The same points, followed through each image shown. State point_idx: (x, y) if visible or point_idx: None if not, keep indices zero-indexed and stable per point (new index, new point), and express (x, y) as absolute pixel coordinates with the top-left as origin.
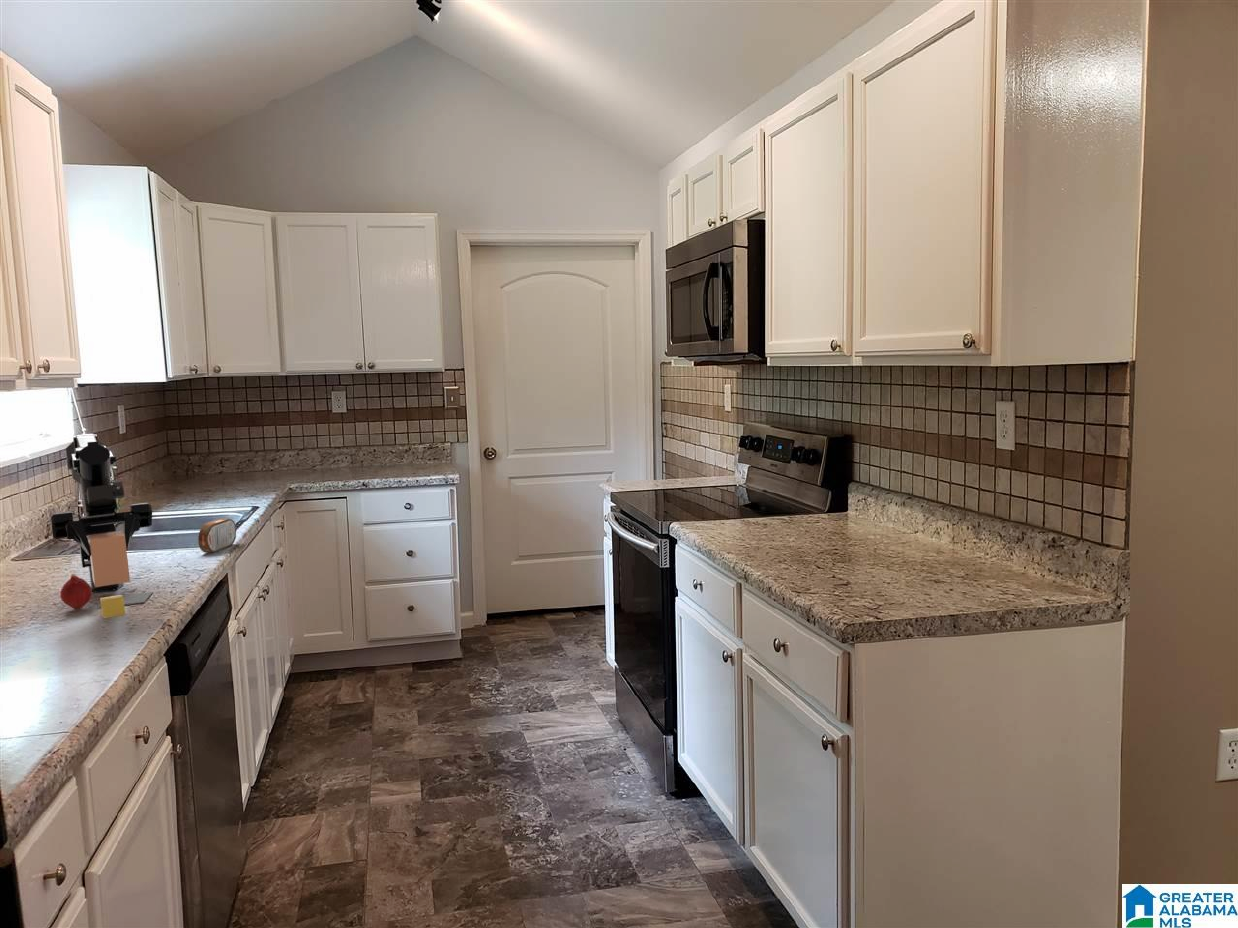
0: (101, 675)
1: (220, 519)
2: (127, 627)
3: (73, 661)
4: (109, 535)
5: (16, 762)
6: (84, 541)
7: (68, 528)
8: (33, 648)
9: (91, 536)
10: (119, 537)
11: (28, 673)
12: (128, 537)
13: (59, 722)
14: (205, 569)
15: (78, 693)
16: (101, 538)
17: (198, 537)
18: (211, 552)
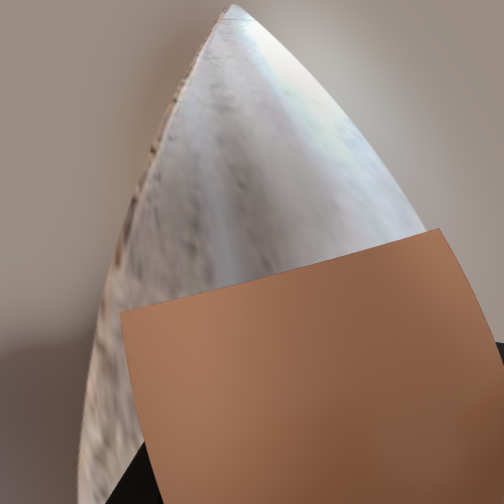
0: (214, 65)
1: None
2: (205, 236)
3: (262, 102)
4: (322, 416)
5: (240, 9)
6: (501, 348)
7: None
8: (361, 177)
9: (497, 413)
10: (180, 303)
11: (306, 89)
12: (129, 477)
13: (229, 25)
14: None
15: (228, 46)
16: (361, 257)
17: None
18: None
